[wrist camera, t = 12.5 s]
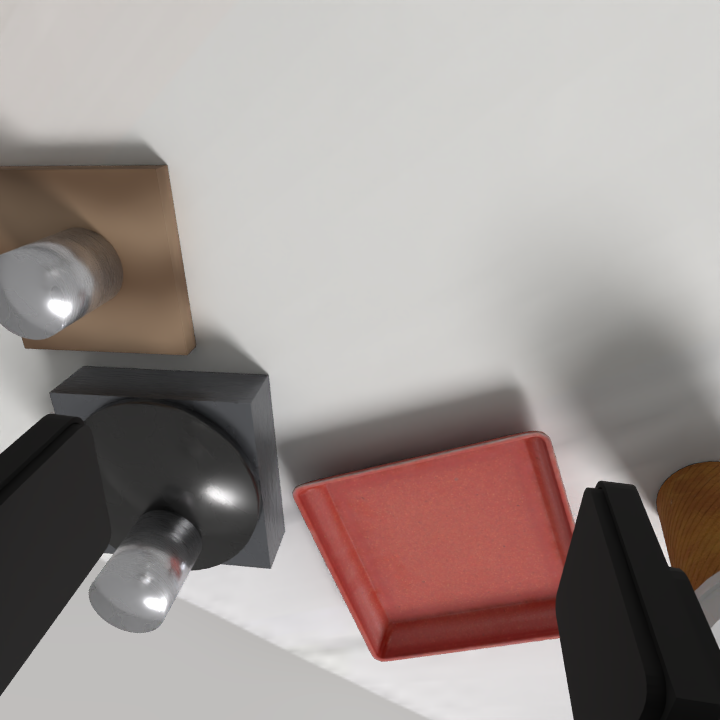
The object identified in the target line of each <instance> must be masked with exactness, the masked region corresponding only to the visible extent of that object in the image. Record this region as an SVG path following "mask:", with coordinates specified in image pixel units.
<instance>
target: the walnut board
mask: <svg viewBox="0 0 720 720" xmlns="http://www.w3.org/2000/svg"><path fill="white" fill-rule="evenodd" d="M76 227H78V228H85V229H89V230H91V231H94V232H96V233H98V234H99V235H101V236H102V237H103V238H104V239H106V240H107V241H108V242H109V243H110V244H111V246H112V247H113V248H114V250H115V251H116V253H117V254H118V256H119V259H120V261H121V264H122V269H123V282H122V286H121V288H120V290H119V292H118V293H117V295H116V296H115V297H113V298H112V299H111V300H109V301H108V302H106V303H104V304H103V305H101V306H100V307H98V308H96V309H95V310H93V311H92V312H90V313H88V314H87V315H85V316H83V317H82V318H80V319H79V320H77V321H75V322H74V323H72V324H71V325H69V326H67V327H66V328H64V329H63V330H61V331H59V332H58V333H56V334H55V335H53V336H51V337H49V338H46V339H41V340H33V339H27V338H23V337H22V340H23V343H24V347H25V348H27V349H51V350H75V351H99V352H123V353H146V354H170V355H188V354H189V353H190V352H191V351H192V350H193V349H194V348H195V347H196V342H195V335H194V329H193V323H192V317H191V310H190V304H189V298H188V292H187V285H186V279H185V273H184V267H183V260H182V254H181V248H180V242H179V235H178V229H177V223H176V217H175V210H174V204H173V198H172V191H171V185H170V179H169V173H168V166H167V165H133V166H0V255H1V254H4V253H6V252H9V251H11V250H14V249H17V248H19V247H22V246H24V245H27V244H30V243H32V242H35V241H37V240H40V239H43V238H45V237H48V236H50V235H53V234H56V233H58V232H61V231H63V230H66V229H69V228H76Z"/></svg>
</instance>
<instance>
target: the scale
mask: <svg viewBox="0 0 720 720" xmlns="http://www.w3.org/2000/svg"><path fill="white" fill-rule="evenodd" d="M50 397H51V400H52V404H53V407H54V411H55V414H59V415H67V416H75V417H79V418H81V419H82V420H83V421H84V424H85V425H86V426H89V427H90V429H91V431H92V435H93V440H94V445H95V450H96V455H97V460H98V465H99V470H100V475H101V480H102V485H103V490H104V495H105V500H106V505H107V510H108V515H109V520H110V525H111V532H112V533H111V539H110V542H109V545H108V547H107V549H106V550H105V552H104V553H110V554H114V552H115V551H116V550H117V548H118V547H119V545H120V544H121V543H122V541H123V540H124V538H125V537H126V536H127V534H128V533H129V531H130V530H131V529H132V527H133V526H134V525H135V523H136V522H137V520H138V519H139V518H140V517H141V516H142V515H143V514H145V513H147V512H149V511H153V510H165V511H170V512H173V513H176V514H178V515H180V516H182V517H184V518H185V519H187V520H188V521H189V522H190V523H192V524H193V526H194V527H195V528H196V529H197V531H198V533H199V535H200V537H201V541H202V548H201V552H200V554H199V556H198V558H197V559H196V561H195V563H194V565H193V567H192V569H191V570H201V569H206V568H211V567H214V566H217V565H220V564H226V565H236V566H247V567H257V568H268V569H271V567H272V564H273V562H274V559H275V556H276V554H277V551H278V548H279V546H280V543H281V540H282V538H283V535H284V533H285V527H284V518H283V508H282V498H281V489H280V479H279V470H278V460H277V450H276V441H275V431H274V422H273V412H272V403H271V393H270V383H269V375H259V374H237V373H215V372H193V371H172V370H150V369H128V368H107V367H85V366H83V367H82V368H80V369H79V370H78V371H77V372H75V373H74V374H73V375H71V376H70V377H69V378H68V379H66V380H65V381H64V382H63V383H61V384H60V385H59V386H57V387H56V388H55V389H54V390H52V391H51V392H50Z"/></svg>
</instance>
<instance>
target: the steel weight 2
mask: <svg viewBox="0 0 720 720" xmlns="http://www.w3.org/2000/svg"><path fill="white" fill-rule="evenodd" d="M201 548H202V541H201V537H200V535H199V533H198V531H197V529H196V528H195V527H194V526H193V524H192V523H190V522H189V521H188V520H187V519H185V518H184V517H182V516H180V515H178V514H176V513H173V512H170V511H165V510H153V511H149V512H147V513H145V514H143V515H142V516H141V517H140V518H139V519H138V520H137V522H136V523H135V525H134V526H133V527H132V529H131V530H130V531H129V533H128V534H127V536H126V537H125V538H124V540H123V541H122V543H121V544H120V545H119V547H118V548H117V550H116V551H115V552H114V554H113V555H112V557H111V558H110V559H109V561H108V562H107V563H106V565H105V566H104V568H103V569H102V570H101V572H100V573H99V575H98V576H97V577H96V579H95V580H94V582H93V583H92V585H91V586H90V589H89V599H90V602H91V605H92V606H93V608H94V610H95V611H96V612H97V614H98V615H99V616H100V617H101V618H103V619H104V620H105V621H106V622H108V623H109V624H111V625H113V626H115V627H117V628H119V629H122V630H124V631H128V632H134V633H145V632H150V631H153V630H155V629H156V628H158V627H159V626H160V625H161V624H162V622H163V621H164V618H165V617H166V615H167V613H168V611H169V609H170V608H171V606H172V604H173V602H174V600H175V598H176V596H177V595H178V593H179V591H180V589H181V587H182V585H183V584H184V582H185V580H186V578H187V576H188V574H189V572H190V571H191V569H192V567H193V565H194V563H195V561H196V559H197V558H198V556H199V554H200V552H201Z"/></svg>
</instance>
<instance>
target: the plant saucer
mask: <svg viewBox="0 0 720 720" xmlns="http://www.w3.org/2000/svg"><path fill="white" fill-rule="evenodd" d="M293 498H294V500H295V502H296V504H297V506H298V508H299V510H300V512H301V514H302V516H303V518H304V520H305V522H306V525H307V527H308V529H309V530H310V532H311V534H312V537H313V539H314V541H315V543H316V545H317V547H318V549H319V551H320V553H321V555H322V557H323V559H324V561H325V563H326V565H327V567H328V569H329V571H330V573H331V575H332V577H333V579H334V581H335V583H336V585H337V587H338V588H339V591H340V593H341V594H342V597H343V599H344V601H345V603H346V605H347V607H348V609H349V611H350V613H351V615H352V617H353V619H354V620H355V623H356V625H357V627H358V629H359V631H360V632H361V635H362V637H363V638H364V641H365V643H366V645H367V647H368V649H369V651H370V653H371V655H372V656H373V657H374V659H376V660H379V661H381V662H383V661H394V660H402V659H409V658H416V657H423V656H431V655H439V654H446V653H453V652H460V651H468V650H476V649H482V648H491V647H496V646H506V645H512V644H520V643H527V642H533V641H542V640H547V639H558V638H560V636H559V630H558V625H557V619H556V610H555V604H556V595H557V590H558V587H559V583H560V579H561V576H562V572H563V568H564V564H565V561H566V557H567V553H568V550H569V546H570V542H571V539H572V535H573V531H574V527H575V523H574V520H573V516H572V513H571V510H570V506H569V503H568V500H567V496H566V492H565V488H564V485H563V482H562V478H561V475H560V471H559V467H558V464H557V460H556V456H555V453H554V450H553V446H552V443H551V440H550V438H549V436H547V435H546V434H545V433H543V432H539V431H528V432H522V433H518V434H513V435H509V436H504V437H500V438H495V439H491V440H487V441H483V442H478V443H474V444H470V445H466V446H462V447H457V448H453V449H449V450H444V451H440V452H436V453H431V454H427V455H422V456H418V457H414V458H409V459H405V460H401V461H396V462H392V463H388V464H383V465H379V466H375V467H370V468H366V469H361V470H357V471H353V472H348V473H344V474H339V475H335V476H331V477H327V478H323V479H318V480H314V481H310V482H307V483H304V484H301V485H299V486H297V487H296V488H295V489H294V491H293Z"/></svg>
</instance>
